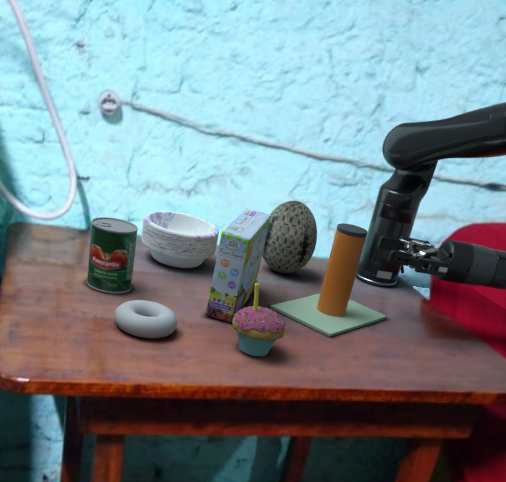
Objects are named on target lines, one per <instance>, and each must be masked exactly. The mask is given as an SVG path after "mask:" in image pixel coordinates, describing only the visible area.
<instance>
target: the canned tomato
mask: <svg viewBox="0 0 506 482" xmlns="http://www.w3.org/2000/svg"><path fill="white" fill-rule="evenodd" d="M90 223H91V225H90V236H89V239H90V240H89V249H88V252H89V253H88V263H87V275H86V276H87V277H86V285H87V286H88V287H89V288H90V289H93V290H95V291H97V292H101V293H105V294H112V295H120V294H121V295H122V294H128V293H129V292H130V291H131V290H132V283H133V276H134V275H133V274H134V266H135V255H136V249H137V247H136V246H137V238H138V230H139V227H138V226H137V225H136V224H135V223H132V222H130V221H128V220H125V219H121V218H116V217H107V216H106V217H104V216H103V217H102V216H101V217H94V218H92V219H91V221H90Z"/></svg>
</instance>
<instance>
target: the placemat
mask: <svg viewBox="0 0 506 482" xmlns="http://www.w3.org/2000/svg"><path fill="white" fill-rule="evenodd" d="M319 296H320V293H316V294H312V295H308V296H304V297H300V298H296V299H295V298H294V299H292V300H286V301H283V302H279V303H275V304H270V307H269V309H270V310H271V309H272V310H274V311H275V312H276V313H280V314H281V315H283V316H286V317H288V318H289V319H291V320H294V321H296V322H298V323H300V324H302V325H305V326H306V327H308V328H311V329H313V330H315V331H316V332H318V333H321V334H322V335H325V336H327V337H329V338H332V337H334V336H338V335H340V334H343V333H346V332H350V331H353V330H356V329H359V328H363V327H366V326H368V325H371V324H372V325H373V324H376V323H377V322H381V321H384V320H387V315H385V314H383V313H381V312H378V311H377V310H374V309H373V308H370V307H367V306H365V305H363V304H361V303H358V302H357V301H354V300H353V299H351V298H349V302H348V306H347V309H346V313H345V315H344V316H342V317H335V316H330V315H326V314H324V313H322V312H320V311H319V310H318V309H317V304H318V300H319Z"/></svg>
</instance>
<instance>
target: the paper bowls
mask: <svg viewBox="0 0 506 482" xmlns="http://www.w3.org/2000/svg"><path fill="white" fill-rule="evenodd" d="M219 234H220V231H219V229H218V227H217V226H216V225H215V224H213V223H212V222H210V221H208V220H206V219H203V218H201V217H198V216H195V215H193V214H188V213H184V212H183V213H182V212H176V211H170V210H157V211H156V210H155V211H151V212H147V213H146V214H145V215H144V216H143V219H142V229H141V238H140V239H141V240H140V241H141V242H142V244H143V245H144V246H145V247H146V248H148V249H149V252H150V255H151V257H152V258H153V259H154V260H155V261H157V262H158V263H161V264H163V265H166V266H168V267H173V268H178V269H193V268H198V267H199V266H201V265H202V263H203V262H204V261H205V259H209V258H211V257H214V256H215V253H216V250H217V245H218V241H219V240H218V239H219Z"/></svg>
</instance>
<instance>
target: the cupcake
mask: <svg viewBox="0 0 506 482" xmlns="http://www.w3.org/2000/svg"><path fill="white" fill-rule="evenodd" d="M258 282H259V281H258V278H257V279H256V284H255V290H254V292H253V293H254V294H253V305H251V306H250V305H248V306H243V307H242V309H241V310H239V311H237V313H235V314H234V317H233V321H232V323H231V324H232V328H233V329H234V330H235V331H236V334H237V339H238V348H239V350H240V351H241V352H242V353H244V354H246V355H249V356H252V357H265V356H267V355H268V354H269V352H270V350H271V349H272V347H273V345H274V344H275V342H276V341H277V340H279V339H282V338H283V337H284V336H285V331H286V328H285V327H286V323H285V321H284V319H283V318H282V316H281V315H280V314H278V312H277V311H275V310H273V309H271V308H270V307H269V308H268V307H266V306H260V305H259V294H260V283H258Z"/></svg>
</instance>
